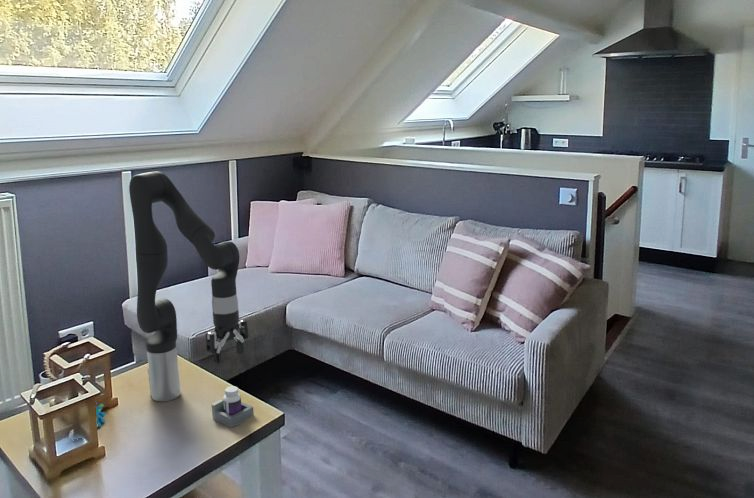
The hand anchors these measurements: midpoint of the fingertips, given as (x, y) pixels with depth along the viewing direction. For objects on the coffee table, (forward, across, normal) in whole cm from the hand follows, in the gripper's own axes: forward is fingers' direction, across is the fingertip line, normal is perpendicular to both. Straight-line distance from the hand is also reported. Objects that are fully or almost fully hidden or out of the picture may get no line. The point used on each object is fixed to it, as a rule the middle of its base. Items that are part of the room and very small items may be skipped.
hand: (229, 358), depth 188 cm
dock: (+20, 0, 0) cm, 20 cm away
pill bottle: (+20, 0, 0) cm, 20 cm away
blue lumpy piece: (+20, +28, -32) cm, 48 cm away
